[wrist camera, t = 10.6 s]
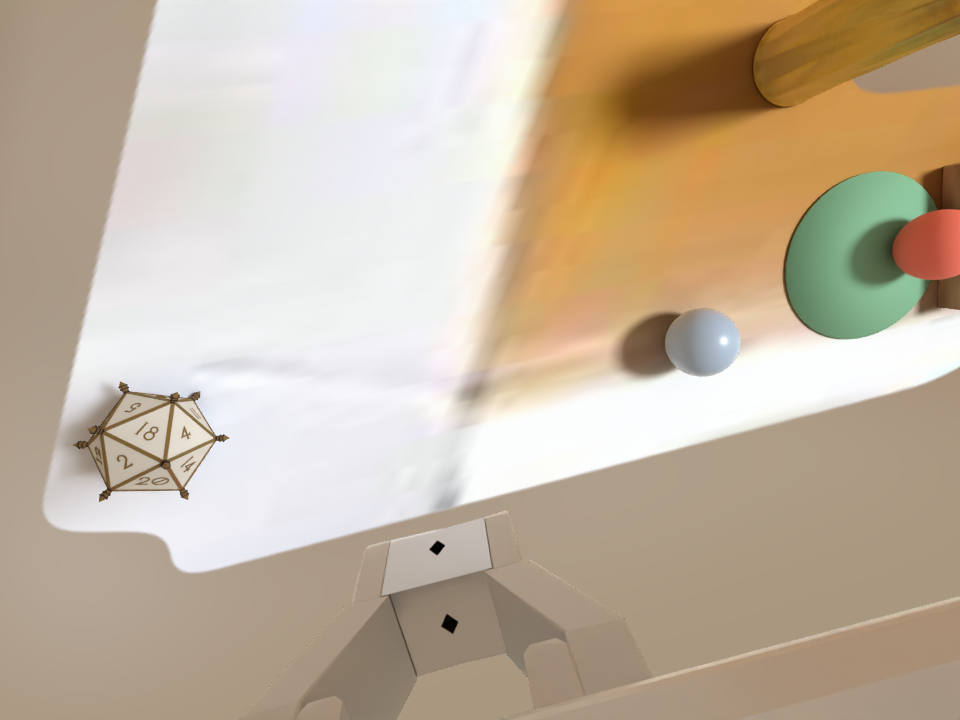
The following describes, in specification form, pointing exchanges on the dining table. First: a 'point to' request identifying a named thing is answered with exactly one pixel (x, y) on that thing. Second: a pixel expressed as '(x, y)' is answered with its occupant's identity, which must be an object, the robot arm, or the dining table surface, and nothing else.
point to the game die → (150, 443)
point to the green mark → (855, 256)
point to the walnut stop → (955, 195)
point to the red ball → (930, 245)
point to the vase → (845, 43)
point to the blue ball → (702, 342)
